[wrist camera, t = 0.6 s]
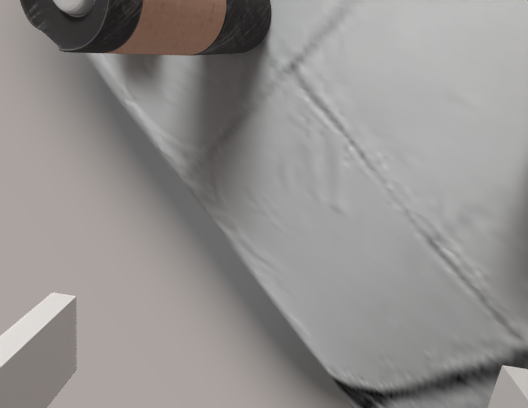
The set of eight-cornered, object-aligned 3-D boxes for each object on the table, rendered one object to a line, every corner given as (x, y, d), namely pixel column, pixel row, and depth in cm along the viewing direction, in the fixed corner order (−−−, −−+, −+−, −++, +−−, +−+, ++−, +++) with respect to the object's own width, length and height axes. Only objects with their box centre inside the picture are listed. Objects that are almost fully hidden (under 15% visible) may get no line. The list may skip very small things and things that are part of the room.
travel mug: (268, -43, 36) (89, -130, 19) (279, 48, 38) (127, 40, 21) (198, -20, 40) (-5, -78, 23) (212, 62, 42) (35, 64, 25)
